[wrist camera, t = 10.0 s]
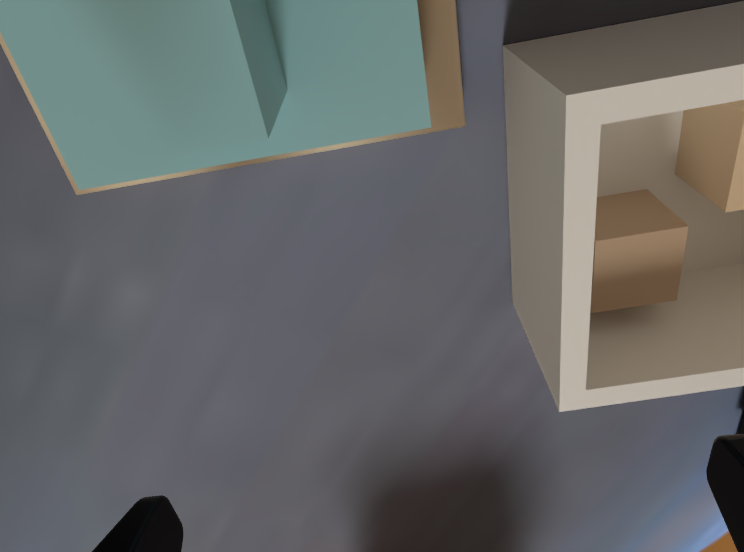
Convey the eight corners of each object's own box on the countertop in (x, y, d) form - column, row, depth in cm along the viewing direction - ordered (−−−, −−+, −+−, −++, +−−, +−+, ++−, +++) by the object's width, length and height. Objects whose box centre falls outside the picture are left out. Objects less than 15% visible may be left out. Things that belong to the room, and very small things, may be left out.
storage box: (836, -17, 16) (1051, 9, 11) (764, 263, 22) (888, 365, 17) (502, 45, 17) (566, 95, 12) (512, 302, 22) (559, 412, 17)
